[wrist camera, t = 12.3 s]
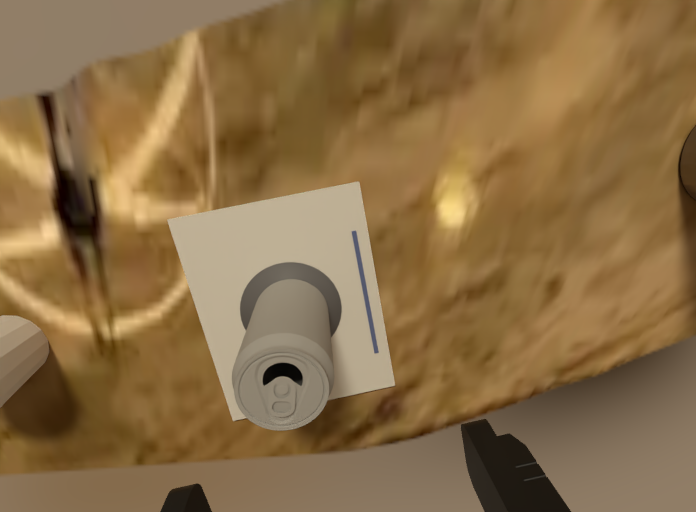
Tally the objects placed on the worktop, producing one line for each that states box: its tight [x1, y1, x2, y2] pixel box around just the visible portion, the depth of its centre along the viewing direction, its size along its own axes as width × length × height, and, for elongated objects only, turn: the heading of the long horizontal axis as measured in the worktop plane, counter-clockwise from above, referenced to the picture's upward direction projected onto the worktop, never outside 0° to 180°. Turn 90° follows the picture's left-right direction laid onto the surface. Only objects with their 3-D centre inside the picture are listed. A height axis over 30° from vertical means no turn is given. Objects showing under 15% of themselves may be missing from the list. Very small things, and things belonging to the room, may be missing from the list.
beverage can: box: [232, 279, 334, 431], centre depth 29 cm, size 6×6×12 cm
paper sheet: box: [167, 181, 395, 421], centre depth 35 cm, size 16×20×1 cm
